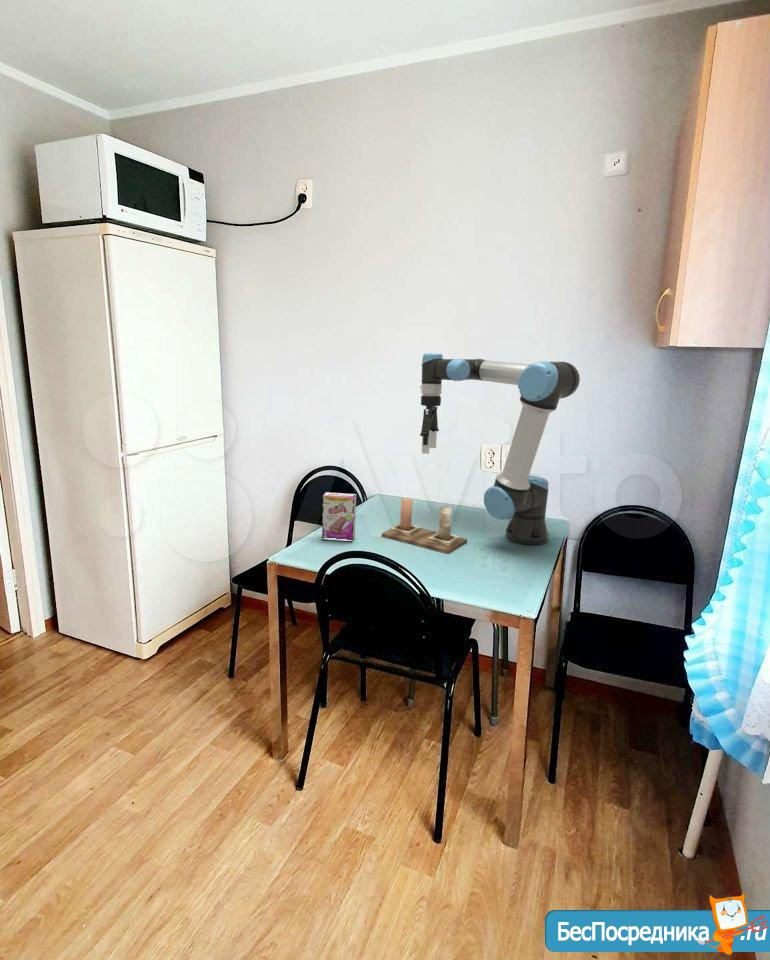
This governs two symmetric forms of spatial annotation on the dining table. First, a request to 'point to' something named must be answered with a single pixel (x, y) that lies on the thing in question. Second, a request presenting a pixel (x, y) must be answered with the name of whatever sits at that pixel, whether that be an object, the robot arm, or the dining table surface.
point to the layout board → (429, 535)
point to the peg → (406, 514)
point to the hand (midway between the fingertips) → (429, 450)
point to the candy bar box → (339, 516)
